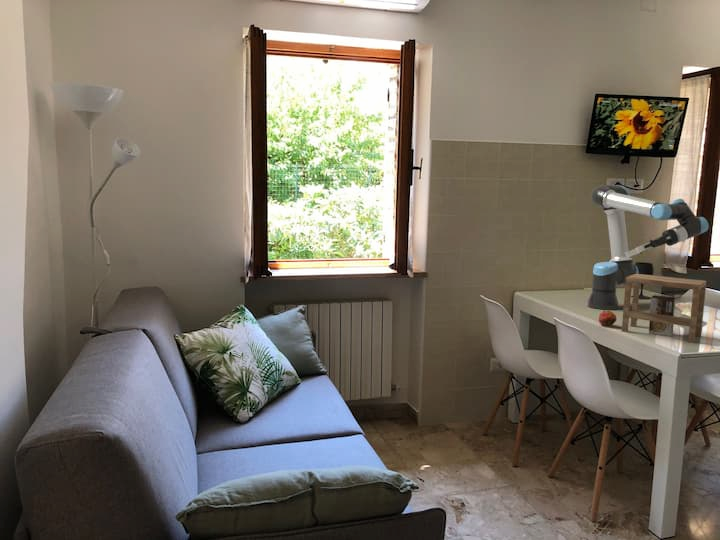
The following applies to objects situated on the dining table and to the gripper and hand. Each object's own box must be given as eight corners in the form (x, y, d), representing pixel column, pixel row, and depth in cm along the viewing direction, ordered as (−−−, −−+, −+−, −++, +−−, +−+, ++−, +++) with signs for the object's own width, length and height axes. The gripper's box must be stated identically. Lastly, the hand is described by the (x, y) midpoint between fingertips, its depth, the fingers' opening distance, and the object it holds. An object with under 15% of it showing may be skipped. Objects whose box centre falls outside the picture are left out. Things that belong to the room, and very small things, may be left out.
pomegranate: (617, 332, 260) (614, 315, 267) (618, 322, 256) (615, 305, 262) (600, 332, 262) (597, 316, 269) (600, 322, 258) (597, 305, 264)
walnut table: (631, 325, 265) (635, 273, 261) (701, 335, 247) (706, 280, 243) (621, 331, 254) (625, 277, 250) (693, 342, 236) (699, 285, 232)
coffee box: (673, 333, 251) (676, 297, 248) (671, 336, 245) (675, 299, 243) (649, 330, 255) (652, 294, 253) (647, 333, 250) (651, 297, 248)
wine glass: (653, 299, 325) (656, 264, 322) (633, 299, 327) (636, 264, 324) (648, 296, 335) (651, 262, 332) (629, 295, 337) (631, 261, 334)
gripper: (689, 237, 260) (645, 255, 261) (666, 247, 285) (626, 263, 286) (682, 222, 262) (638, 240, 263) (659, 233, 286) (619, 250, 287)
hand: (631, 252), depth 274 cm, fingers open, 13 cm apart
